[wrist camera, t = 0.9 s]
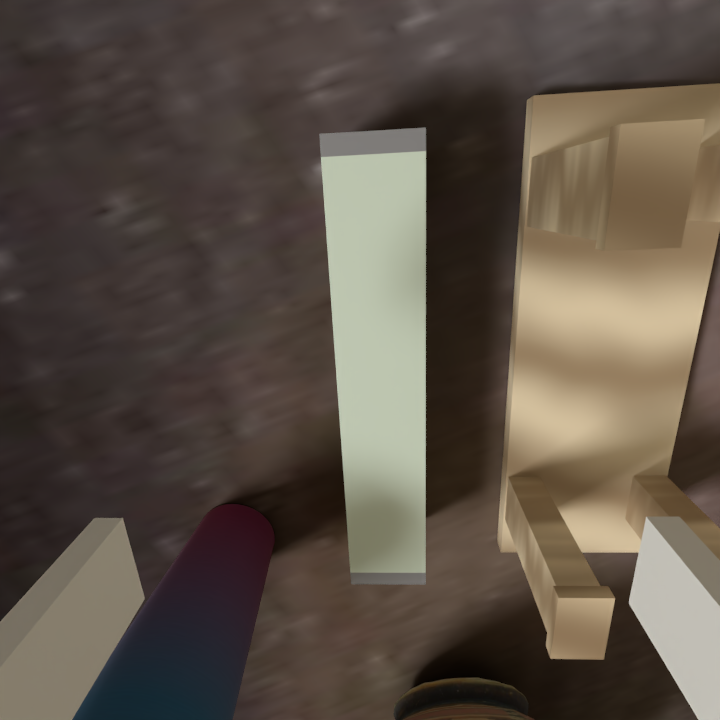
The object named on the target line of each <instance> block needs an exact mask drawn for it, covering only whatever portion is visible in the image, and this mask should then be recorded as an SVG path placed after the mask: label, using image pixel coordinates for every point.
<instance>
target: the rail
mask: <svg viewBox="0 0 720 720" xmlns="http://www.w3.org/2000/svg"><path fill="white" fill-rule="evenodd" d="M319 135H320V150H321V164H322V178H323V192H324V206H325V220H326V234H327V248H328V262H329V277H330V291H331V305H332V319H333V333H334V347H335V361H336V375H337V390H338V404H339V418H340V432H341V446H342V460H343V474H344V488H345V503H346V517H347V531H348V545H349V559H350V573H351V584H426V127H425V128H409V129H393V130H376V131H360V132H344V133H327V134H319Z"/></svg>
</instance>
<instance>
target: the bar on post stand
mask: <svg viewBox="0 0 720 720" xmlns="http://www.w3.org/2000/svg"><path fill="white" fill-rule="evenodd" d="M719 232H720V83H718V84H702V85H687V86H671V87H656V88H641V89H625V90H610V91H594V92H579V93H564V94H548V95H534V96H532V97H531V98H529V99H528V100H527V108H526V123H525V138H524V152H523V167H522V182H521V197H520V211H519V226H518V241H517V256H516V271H515V285H514V300H513V315H512V330H511V344H510V359H509V374H508V389H507V404H506V418H505V433H504V448H503V463H502V477H501V492H500V507H499V522H498V536H497V542H498V545H499V548H500V551H501V552H517V553H518V555H519V558H520V561H521V564H522V566H523V569H524V572H525V574H526V577H527V580H528V582H529V585H530V588H531V590H532V593H533V596H534V598H535V601H536V604H537V606H538V609H539V612H540V615H541V617H542V620H543V623H544V625H545V628H546V631H547V640H546V648H547V650H548V653H549V656H550V659H596V660H604V656H605V651H606V645H607V640H608V635H609V629H610V624H611V619H612V613H613V608H614V603H615V597H614V595H613V593H612V592H611V590H610V588H609V586H600V584H599V582H598V581H597V579H596V577H595V575H594V573H593V572H592V570H591V568H590V566H589V564H588V563H587V561H586V559H585V557H584V555H583V554H582V552H639V549H640V545H641V540H642V535H643V530H644V525H645V520H646V517H680V518H681V519H682V520H683V521H684V522H685V523H686V524H687V525H688V526H689V528H690V529H691V530H692V531H693V532H694V533H695V534H696V535H697V536H698V537H699V538H700V539H701V541H702V542H703V543H704V544H705V545H706V546H707V547H708V548H709V549H710V550H711V551H712V552H713V554H714V555H715V556H716V557H717V558H718V559H719V560H720V528H719V527H718V526H717V525H716V524H715V523H713V522H712V521H711V520H710V519H709V518H708V517H707V516H706V515H705V514H704V513H703V512H702V511H701V510H700V509H699V508H698V507H697V506H696V505H695V504H694V503H693V502H692V501H691V500H690V499H689V498H688V497H687V496H686V495H685V494H684V493H683V492H682V491H681V490H680V489H679V488H678V487H677V486H676V485H675V484H674V483H673V482H672V481H671V480H670V479H669V478H668V477H667V476H668V471H669V467H670V462H671V457H672V453H673V448H674V443H675V439H676V434H677V429H678V425H679V420H680V415H681V410H682V406H683V401H684V396H685V392H686V387H687V382H688V378H689V373H690V368H691V364H692V359H693V354H694V349H695V345H696V340H697V335H698V331H699V326H700V321H701V317H702V312H703V307H704V303H705V298H706V293H707V288H708V284H709V279H710V274H711V270H712V265H713V260H714V256H715V251H716V246H717V242H718V237H719Z"/></svg>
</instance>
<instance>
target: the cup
mask: <svg viewBox="0 0 720 720" xmlns="http://www.w3.org/2000/svg"><path fill="white" fill-rule="evenodd" d="M274 542H275V535H274V531H273V528H272V526H271V524H270V523H269V521H268V520H267V519H266V518H265V517H264V516H263V515H262V514H261V513H259V512H258V511H256V510H255V509H252V508H250V507H248V506H244V505H240V504H225V505H221V506H218V507H216V508H214V509H212V510H211V511H210V512H208V513H207V514H206V516H205V517H204V518H203V520H202V521H201V522H200V524H199V525H198V527H197V528H196V530H195V531H194V533H193V534H192V536H191V537H190V539H189V540H188V542H187V543H186V545H185V546H184V548H183V549H182V550H181V552H180V553H179V555H178V556H177V558H176V559H175V561H174V562H173V564H172V565H171V567H170V568H169V570H168V571H167V573H166V574H165V576H164V577H163V578H162V580H161V581H160V583H159V584H158V586H157V587H156V589H155V590H154V592H153V593H152V595H151V596H150V598H149V599H148V601H147V602H146V604H145V605H144V606H143V608H142V609H141V611H140V612H139V614H138V615H137V617H136V618H135V620H134V621H133V623H132V624H131V626H130V627H129V629H128V630H127V631H126V633H125V634H124V636H123V637H122V639H121V640H120V642H119V643H118V645H117V646H116V648H115V649H114V651H113V652H112V654H111V656H110V657H109V659H108V661H107V662H106V664H105V666H104V667H103V669H102V671H101V672H100V674H99V676H98V677H97V679H96V681H95V682H94V684H93V686H92V687H91V689H90V691H89V692H88V694H87V696H86V697H85V699H84V701H83V702H82V704H81V706H80V707H79V709H78V711H77V712H76V714H75V716H74V717H73V719H72V720H232V719H233V715H234V711H235V707H236V702H237V698H238V694H239V690H240V685H241V681H242V677H243V673H244V669H245V664H246V660H247V656H248V652H249V647H250V643H251V639H252V635H253V631H254V626H255V622H256V618H257V614H258V610H259V605H260V601H261V597H262V593H263V588H264V584H265V580H266V576H267V572H268V567H269V563H270V559H271V555H272V550H273V546H274Z"/></svg>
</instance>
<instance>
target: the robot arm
mask: <svg viewBox="0 0 720 720" xmlns="http://www.w3.org/2000/svg"><path fill="white" fill-rule="evenodd" d="M144 599H145V598H144V594H143V591H142V587H141V583H140V580H139V576H138V572H137V569H136V565H135V561H134V558H133V554H132V550H131V547H130V543H129V539H128V536H127V532H126V528H125V525H124V521H123V518H94V519H93V520H92V521H91V523H90V524H89V525H88V526H87V527H86V528H85V529H84V530H83V531H82V532H81V534H80V535H79V536H78V537H77V538H76V539H75V540H74V541H73V542H72V543H71V545H70V546H69V547H68V548H67V549H66V550H65V551H64V552H63V553H62V555H61V556H60V557H59V558H58V559H57V560H56V561H55V562H54V563H53V564H52V566H51V567H50V568H49V569H48V570H47V571H46V572H45V573H44V574H43V575H42V577H41V578H40V579H39V580H38V581H37V582H36V583H35V584H34V585H33V586H32V588H31V589H30V590H29V591H28V592H27V593H26V594H25V595H24V596H23V597H22V599H21V600H20V601H19V602H18V603H17V604H16V605H15V606H14V607H13V608H12V610H11V611H10V612H9V613H8V614H7V615H6V616H5V617H4V618H3V619H2V621H1V622H0V720H72V719H73V717H74V716H75V714H76V712H77V711H78V709H79V707H80V706H81V704H82V702H83V701H84V699H85V697H86V696H87V694H88V692H89V691H90V689H91V687H92V686H93V684H94V682H95V681H96V679H97V677H98V676H99V674H100V672H101V671H102V669H103V667H104V666H105V664H106V662H107V661H108V659H109V657H110V656H111V654H112V652H113V651H114V649H115V647H116V646H117V644H118V642H119V641H120V639H121V637H122V636H123V634H124V632H125V631H126V629H127V627H128V626H129V624H130V622H131V621H132V619H133V617H134V616H135V614H136V612H137V611H138V609H139V607H140V606H141V604H142V602H143V601H144ZM629 605H630V606H631V608H632V610H633V611H634V613H635V615H636V616H637V618H638V620H639V621H640V623H641V625H642V626H643V628H644V630H645V631H646V633H647V635H648V636H649V638H650V640H651V641H652V643H653V645H654V646H655V648H656V650H657V651H658V653H659V655H660V656H661V658H662V660H663V661H664V663H665V665H666V666H667V668H668V670H669V671H670V673H671V675H672V676H673V678H674V680H675V681H676V683H677V685H678V686H679V688H680V690H681V691H682V693H683V695H684V696H685V698H686V700H687V701H688V703H689V705H690V706H691V708H692V710H693V711H694V713H695V715H696V716H697V718H698V720H720V560H719V559H718V558H717V557H716V556H715V555H714V554H713V552H712V551H711V550H710V549H709V548H708V547H707V546H706V545H705V544H704V543H703V542H702V541H701V539H700V538H699V537H698V536H697V535H696V534H695V533H694V532H693V531H692V530H691V529H690V528H689V526H688V525H687V524H686V523H685V522H684V521H683V520H682V519H681V518H680V517H646V520H645V525H644V530H643V535H642V540H641V545H640V549H639V554H638V559H637V564H636V569H635V574H634V579H633V584H632V589H631V594H630V598H629Z"/></svg>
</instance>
